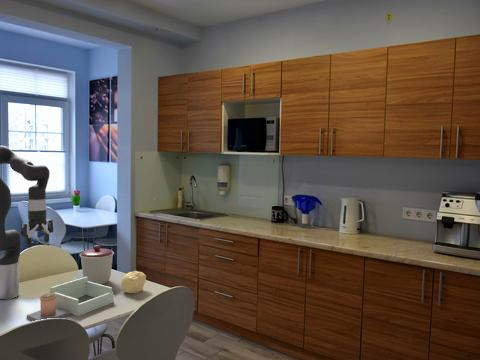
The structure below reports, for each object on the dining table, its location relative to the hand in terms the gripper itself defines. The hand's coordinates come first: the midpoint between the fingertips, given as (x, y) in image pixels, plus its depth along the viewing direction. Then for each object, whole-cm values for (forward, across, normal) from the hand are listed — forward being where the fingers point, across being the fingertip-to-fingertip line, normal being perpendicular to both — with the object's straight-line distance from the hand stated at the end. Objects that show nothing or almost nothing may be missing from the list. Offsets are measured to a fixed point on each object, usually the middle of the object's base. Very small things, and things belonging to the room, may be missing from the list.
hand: (37, 243), depth 185 cm
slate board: (+30, +4, +13) cm, 33 cm away
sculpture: (+30, -40, +20) cm, 54 cm away
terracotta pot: (+29, +4, +13) cm, 32 cm away
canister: (+30, -39, -7) cm, 50 cm away
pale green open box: (+30, -14, +13) cm, 36 cm away
